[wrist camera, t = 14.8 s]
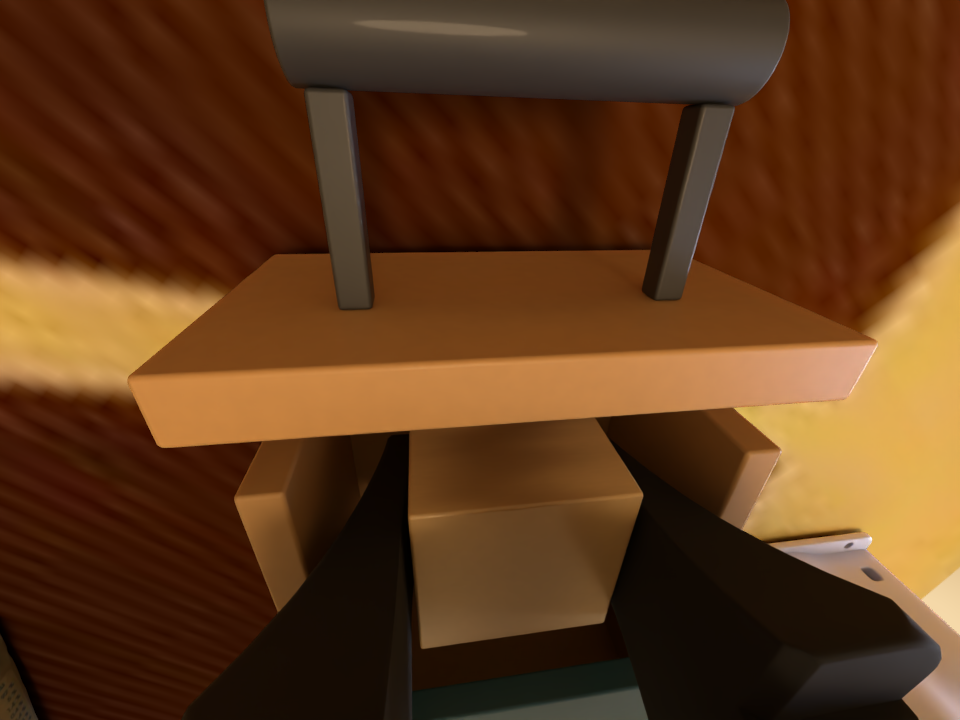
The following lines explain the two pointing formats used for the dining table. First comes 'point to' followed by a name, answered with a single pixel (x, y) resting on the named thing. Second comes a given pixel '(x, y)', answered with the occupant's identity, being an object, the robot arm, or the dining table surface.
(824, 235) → the dining table surface
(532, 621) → the block
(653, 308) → the drawer
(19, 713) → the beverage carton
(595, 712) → the cabinet
